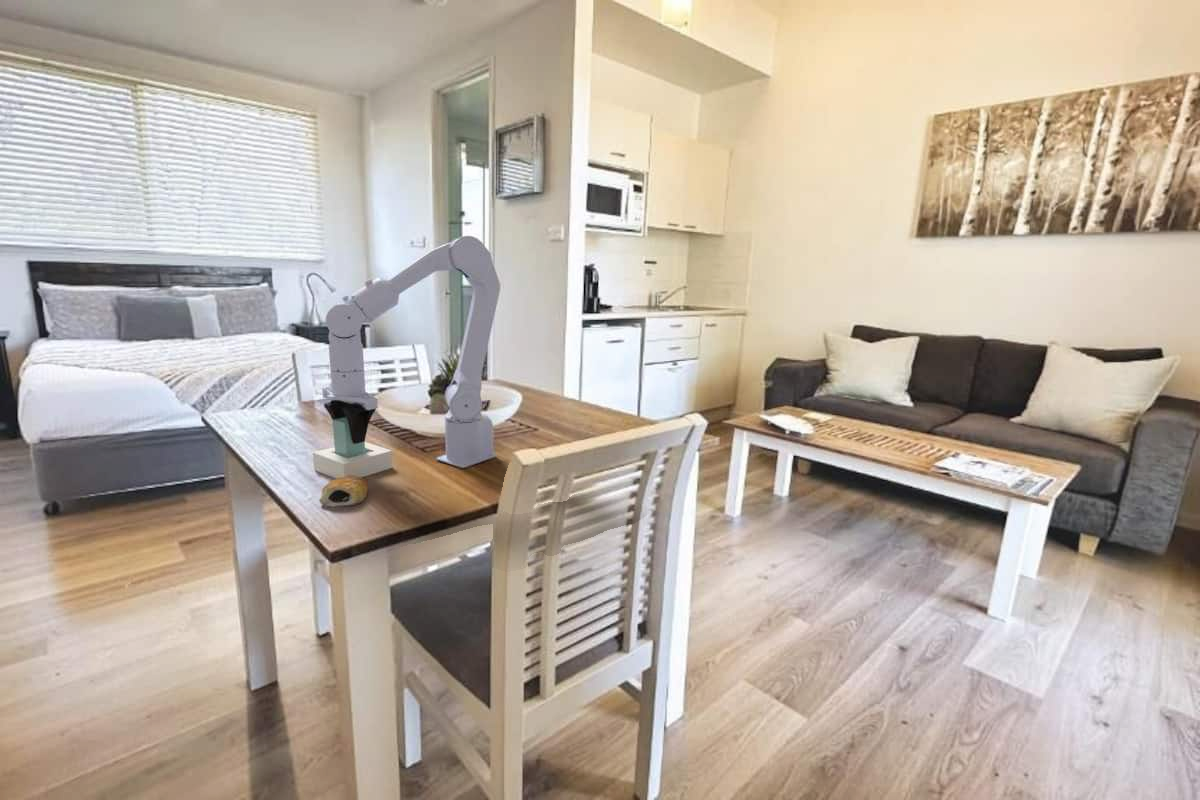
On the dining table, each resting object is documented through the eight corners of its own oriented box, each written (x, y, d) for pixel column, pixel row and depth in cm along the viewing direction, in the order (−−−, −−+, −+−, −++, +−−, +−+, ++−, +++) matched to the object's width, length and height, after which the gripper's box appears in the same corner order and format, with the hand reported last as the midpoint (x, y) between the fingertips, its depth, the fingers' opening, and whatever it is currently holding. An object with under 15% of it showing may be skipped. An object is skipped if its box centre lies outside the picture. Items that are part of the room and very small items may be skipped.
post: (353, 455, 111) (351, 415, 109) (365, 459, 109) (363, 419, 107) (335, 460, 108) (332, 419, 106) (347, 464, 106) (344, 423, 104)
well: (361, 456, 116) (360, 440, 115) (392, 467, 111) (391, 450, 110) (314, 470, 108) (312, 452, 107) (345, 482, 103) (343, 464, 102)
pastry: (335, 487, 101) (334, 467, 100) (375, 486, 102) (374, 466, 101) (318, 509, 92) (316, 487, 91) (362, 508, 93) (360, 486, 92)
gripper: (304, 367, 106) (310, 437, 109) (350, 377, 98) (355, 453, 101) (340, 362, 111) (344, 429, 114) (386, 372, 103) (389, 443, 107)
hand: (351, 440), depth 108 cm, fingers closed on post, 4 cm apart
